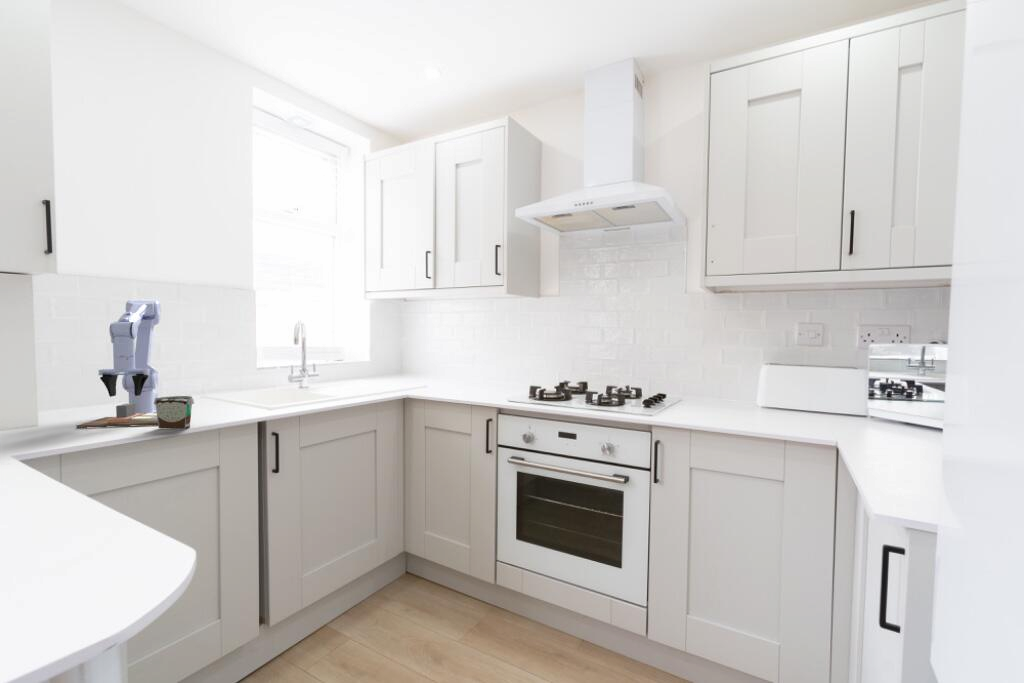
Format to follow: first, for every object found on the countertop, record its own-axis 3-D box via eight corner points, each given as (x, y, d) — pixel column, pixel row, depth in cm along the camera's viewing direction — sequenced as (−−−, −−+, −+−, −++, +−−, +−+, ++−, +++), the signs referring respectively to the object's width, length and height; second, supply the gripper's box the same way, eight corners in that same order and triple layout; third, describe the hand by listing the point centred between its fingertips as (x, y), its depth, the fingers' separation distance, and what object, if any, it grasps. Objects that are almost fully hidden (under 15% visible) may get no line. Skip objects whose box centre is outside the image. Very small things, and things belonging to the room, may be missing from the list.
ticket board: (105, 419, 164) (105, 413, 164) (183, 417, 169) (183, 411, 169) (76, 428, 150) (76, 421, 150) (162, 425, 155) (162, 418, 155)
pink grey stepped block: (126, 417, 163) (125, 402, 163) (144, 416, 164) (143, 402, 164) (107, 422, 154) (106, 407, 153) (126, 422, 155) (125, 406, 154)
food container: (204, 425, 155) (203, 396, 154) (189, 429, 149) (188, 398, 148) (170, 424, 156) (169, 395, 156) (154, 428, 150) (153, 398, 150)
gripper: (91, 357, 153) (92, 398, 153) (141, 357, 156) (142, 397, 156) (106, 356, 160) (107, 395, 160) (153, 355, 163) (154, 393, 163)
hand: (125, 395), depth 159 cm, fingers open, 7 cm apart
